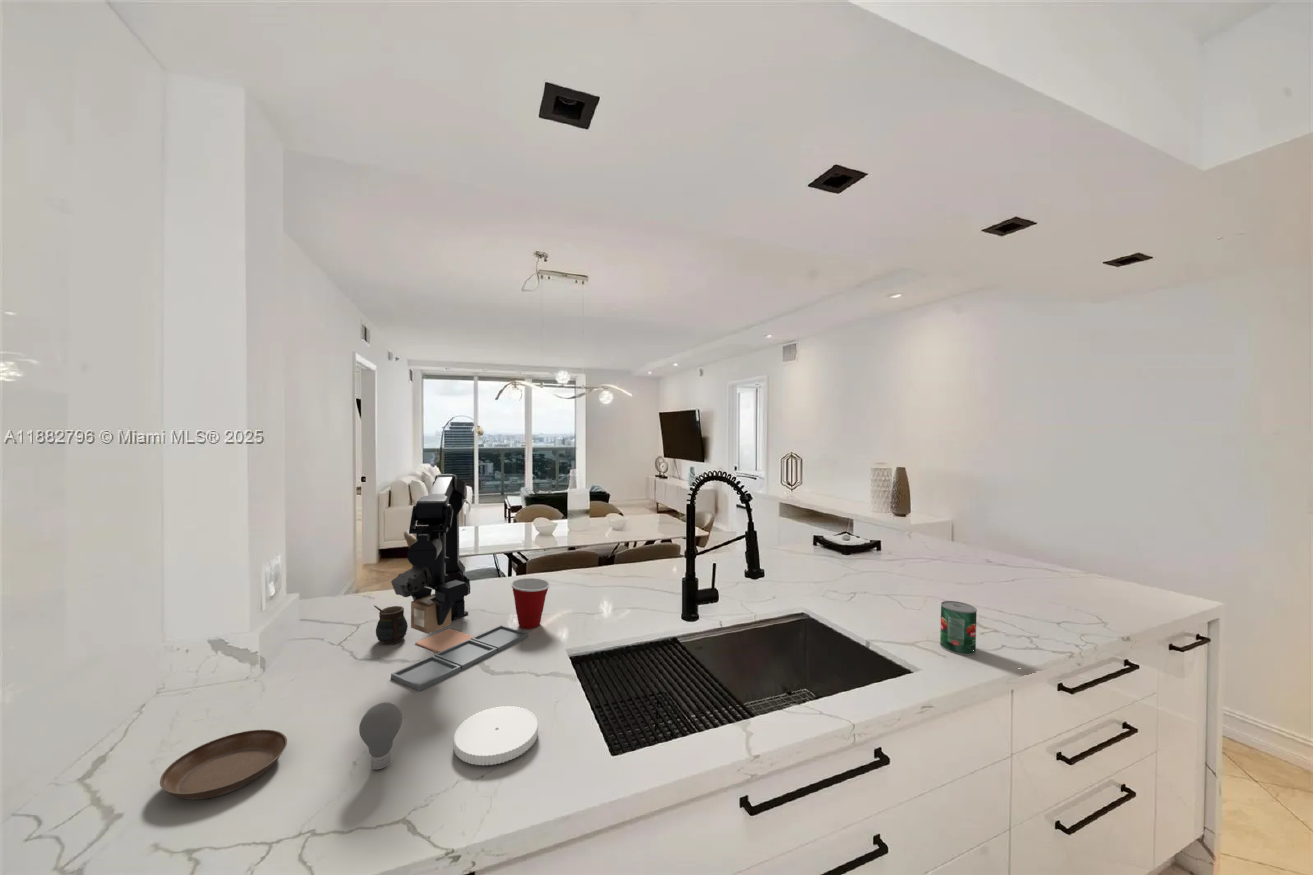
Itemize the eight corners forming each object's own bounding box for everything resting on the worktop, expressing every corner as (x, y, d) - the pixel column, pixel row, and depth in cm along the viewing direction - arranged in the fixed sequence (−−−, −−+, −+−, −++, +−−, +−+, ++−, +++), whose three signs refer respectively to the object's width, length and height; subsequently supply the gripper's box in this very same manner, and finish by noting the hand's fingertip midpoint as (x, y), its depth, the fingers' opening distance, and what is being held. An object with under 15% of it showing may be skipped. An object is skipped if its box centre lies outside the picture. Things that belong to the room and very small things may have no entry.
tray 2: (434, 658, 113) (434, 654, 113) (469, 642, 122) (469, 639, 122) (462, 669, 108) (462, 665, 108) (496, 652, 117) (496, 648, 117)
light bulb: (370, 754, 80) (371, 695, 80) (407, 753, 80) (408, 694, 80) (350, 781, 74) (351, 716, 74) (391, 779, 74) (391, 715, 74)
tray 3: (470, 642, 122) (470, 638, 122) (501, 628, 131) (501, 624, 131) (498, 651, 117) (498, 647, 117) (527, 636, 126) (527, 632, 126)
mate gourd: (412, 640, 123) (412, 602, 123) (379, 650, 117) (379, 610, 117) (402, 631, 128) (401, 594, 128) (370, 641, 122) (370, 602, 122)
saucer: (307, 743, 83) (307, 727, 83) (239, 810, 68) (239, 791, 68) (217, 745, 82) (217, 729, 82) (128, 813, 67) (128, 794, 67)
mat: (415, 644, 121) (415, 642, 121) (449, 630, 129) (449, 628, 129) (440, 653, 116) (440, 651, 116) (474, 638, 125) (474, 636, 125)
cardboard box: (410, 627, 108) (410, 601, 108) (434, 618, 114) (434, 593, 113) (427, 634, 105) (427, 607, 105) (451, 624, 111) (451, 598, 110)
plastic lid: (539, 762, 79) (539, 747, 79) (448, 778, 75) (448, 762, 75) (536, 714, 92) (536, 701, 92) (458, 725, 88) (458, 712, 88)
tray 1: (391, 678, 104) (391, 673, 104) (432, 659, 113) (432, 655, 113) (419, 691, 99) (419, 686, 99) (460, 670, 108) (460, 666, 108)
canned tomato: (981, 657, 119) (982, 613, 119) (946, 653, 121) (948, 610, 120) (967, 643, 127) (968, 602, 127) (935, 640, 128) (936, 599, 128)
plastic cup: (549, 631, 130) (550, 587, 129) (508, 634, 127) (508, 589, 127) (550, 616, 140) (550, 575, 140) (512, 618, 138) (512, 577, 138)
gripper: (372, 556, 107) (372, 624, 107) (425, 570, 97) (425, 645, 98) (418, 545, 116) (418, 608, 117) (470, 557, 107) (470, 626, 108)
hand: (431, 621), depth 110 cm, fingers closed on cardboard box, 6 cm apart
